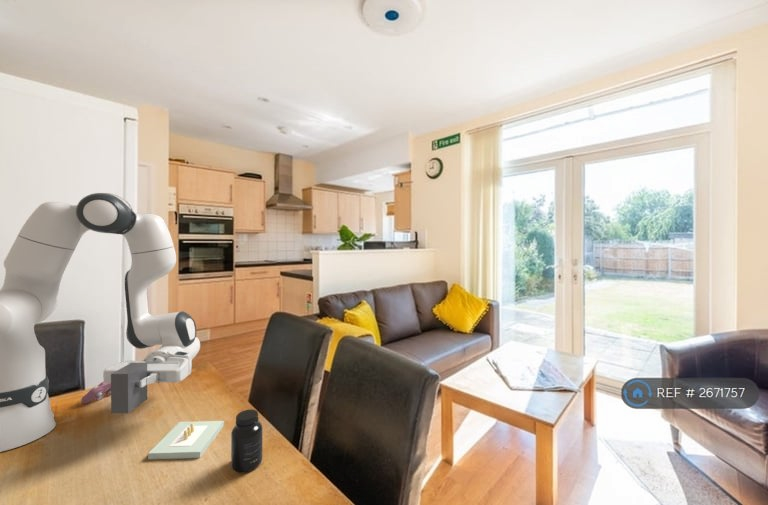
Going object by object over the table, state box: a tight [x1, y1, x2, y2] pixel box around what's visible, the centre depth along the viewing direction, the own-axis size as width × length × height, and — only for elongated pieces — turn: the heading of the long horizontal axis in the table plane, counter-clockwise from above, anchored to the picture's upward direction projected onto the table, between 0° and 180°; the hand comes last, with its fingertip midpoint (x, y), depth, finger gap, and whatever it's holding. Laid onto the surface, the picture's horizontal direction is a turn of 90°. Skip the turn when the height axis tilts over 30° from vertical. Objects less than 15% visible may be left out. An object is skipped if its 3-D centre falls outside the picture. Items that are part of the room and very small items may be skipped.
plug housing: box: [110, 363, 148, 414], centre depth 81 cm, size 4×7×10 cm, turn 4°
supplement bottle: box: [230, 408, 263, 474], centre depth 74 cm, size 7×7×12 cm
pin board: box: [147, 420, 225, 460], centre depth 82 cm, size 12×13×4 cm
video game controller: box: [80, 380, 111, 405], centre depth 103 cm, size 10×5×7 cm, turn 170°
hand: (127, 384), depth 80 cm, fingers closed on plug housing, 4 cm apart
